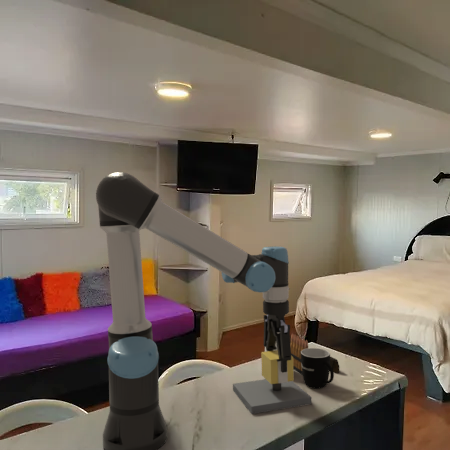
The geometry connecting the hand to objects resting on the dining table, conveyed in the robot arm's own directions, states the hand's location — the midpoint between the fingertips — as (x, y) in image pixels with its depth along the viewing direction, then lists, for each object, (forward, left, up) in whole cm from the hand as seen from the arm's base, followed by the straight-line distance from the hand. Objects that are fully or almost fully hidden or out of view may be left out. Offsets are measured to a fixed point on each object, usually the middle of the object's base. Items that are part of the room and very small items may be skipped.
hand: (277, 377), depth 127 cm
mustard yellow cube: (0, 0, 0) cm, 0 cm away
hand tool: (+24, +18, -6) cm, 31 cm away
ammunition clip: (+15, +15, -6) cm, 22 cm away
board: (-2, 0, -6) cm, 6 cm away
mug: (+15, +2, -6) cm, 16 cm away
